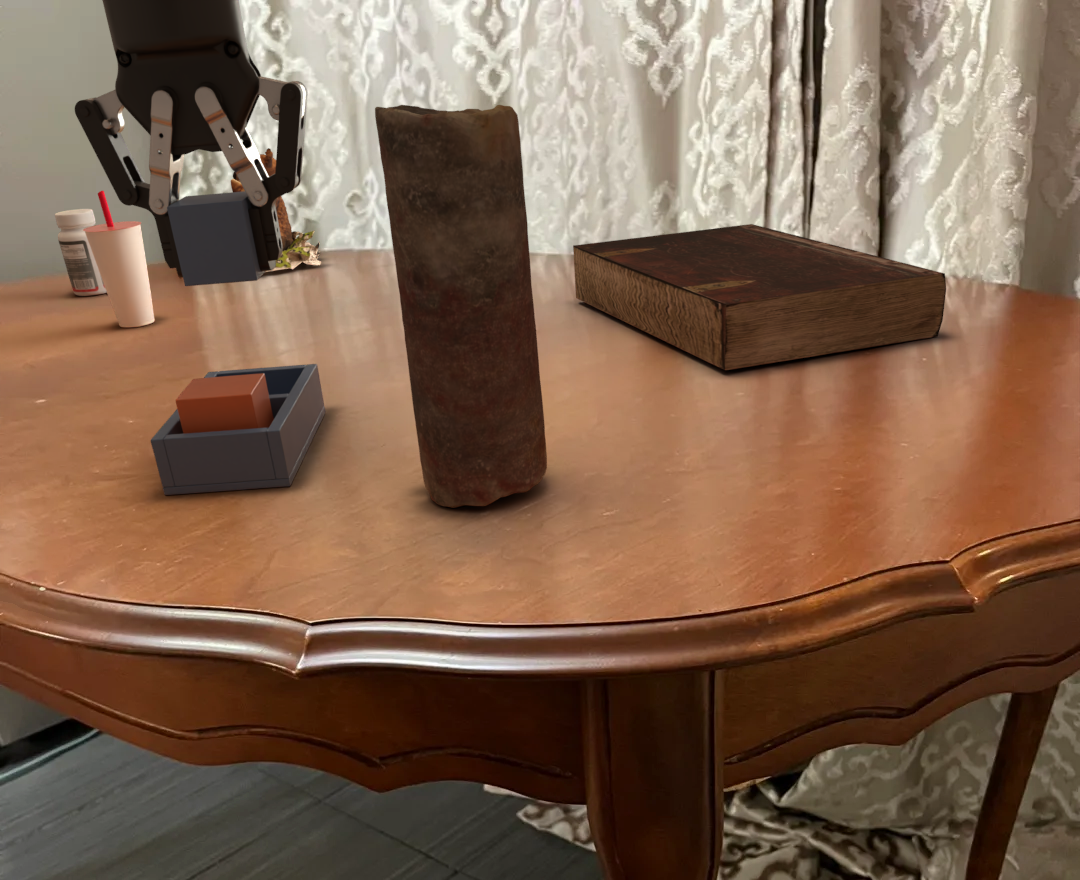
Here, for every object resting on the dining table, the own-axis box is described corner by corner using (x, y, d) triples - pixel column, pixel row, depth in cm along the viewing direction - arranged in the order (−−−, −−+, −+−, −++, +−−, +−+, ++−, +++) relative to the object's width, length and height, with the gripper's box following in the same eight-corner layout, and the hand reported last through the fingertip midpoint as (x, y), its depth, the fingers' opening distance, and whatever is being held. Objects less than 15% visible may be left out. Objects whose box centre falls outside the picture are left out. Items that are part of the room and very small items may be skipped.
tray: (164, 495, 68) (149, 439, 66) (219, 420, 81) (207, 371, 79) (290, 486, 68) (279, 430, 66) (325, 412, 81) (317, 363, 79)
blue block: (184, 286, 70) (166, 206, 68) (202, 271, 74) (185, 196, 71) (257, 280, 70) (241, 200, 67) (271, 266, 74) (256, 190, 71)
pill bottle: (107, 285, 128) (86, 206, 124) (123, 290, 125) (103, 209, 121) (67, 293, 126) (44, 213, 122) (82, 298, 123) (60, 216, 118)
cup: (100, 325, 111) (64, 193, 104) (151, 314, 113) (119, 184, 107) (121, 332, 107) (85, 196, 101) (173, 321, 110) (141, 187, 103)
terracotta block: (192, 473, 69) (174, 399, 67) (209, 448, 73) (192, 378, 71) (266, 467, 69) (250, 393, 67) (278, 443, 73) (264, 372, 71)
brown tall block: (425, 470, 69) (377, 101, 58) (543, 460, 69) (517, 90, 58) (423, 517, 62) (369, 112, 52) (553, 505, 62) (526, 99, 52)
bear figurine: (198, 263, 137) (174, 152, 130) (321, 250, 139) (303, 140, 132) (189, 284, 125) (162, 164, 119) (323, 270, 127) (303, 151, 121)
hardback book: (940, 335, 86) (948, 267, 84) (724, 375, 81) (726, 304, 79) (752, 274, 110) (754, 219, 107) (575, 302, 105) (573, 245, 102)
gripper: (9, -41, 60) (100, 293, 69) (274, -64, 59) (330, 275, 68) (58, -36, 66) (135, 269, 75) (298, -57, 66) (346, 252, 75)
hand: (228, 270), depth 72 cm, fingers closed on blue block, 4 cm apart
